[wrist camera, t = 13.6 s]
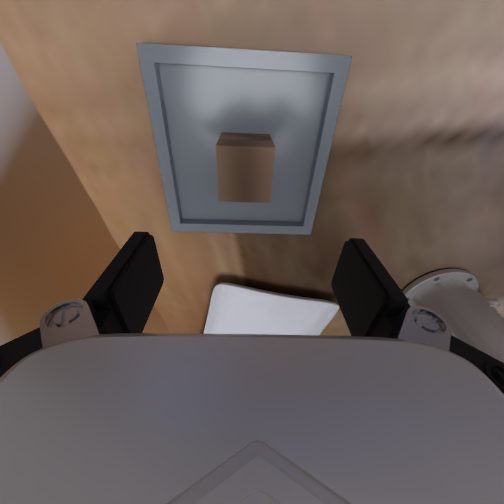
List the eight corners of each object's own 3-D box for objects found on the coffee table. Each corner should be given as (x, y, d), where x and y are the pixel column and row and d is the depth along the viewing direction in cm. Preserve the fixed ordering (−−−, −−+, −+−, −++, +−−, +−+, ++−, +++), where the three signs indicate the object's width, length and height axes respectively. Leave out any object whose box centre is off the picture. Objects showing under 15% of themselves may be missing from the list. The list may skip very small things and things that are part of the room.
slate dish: (344, 57, 21) (352, 55, 20) (307, 227, 32) (310, 234, 30) (143, 45, 20) (135, 42, 19) (175, 224, 31) (172, 231, 30)
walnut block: (269, 134, 24) (275, 147, 19) (265, 181, 27) (270, 203, 22) (221, 132, 24) (215, 145, 19) (223, 179, 27) (218, 201, 22)
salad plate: (216, 269, 36) (214, 284, 34) (336, 291, 40) (343, 307, 38) (198, 342, 49) (195, 358, 46) (292, 354, 52) (294, 369, 50)
